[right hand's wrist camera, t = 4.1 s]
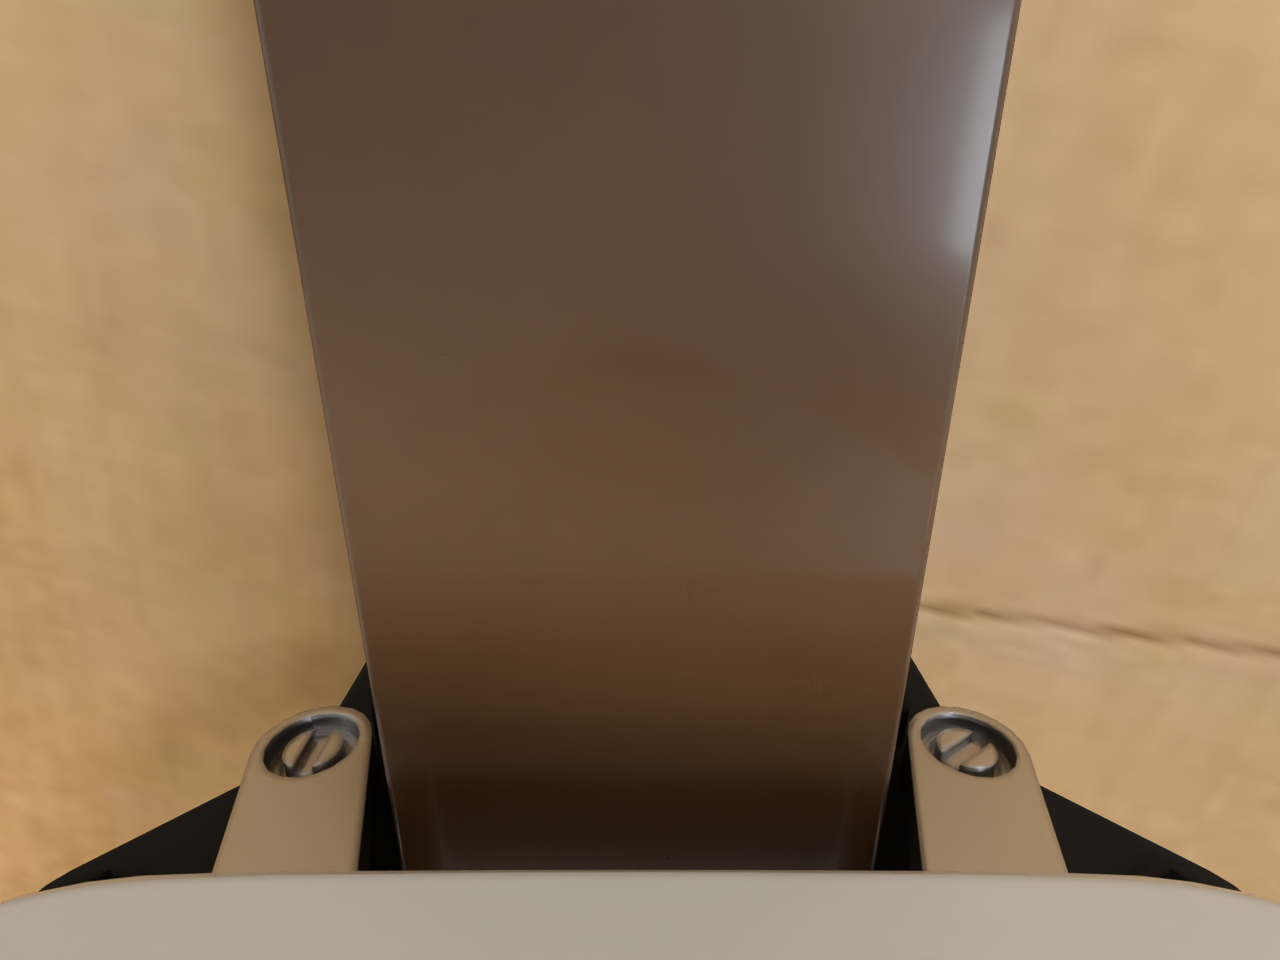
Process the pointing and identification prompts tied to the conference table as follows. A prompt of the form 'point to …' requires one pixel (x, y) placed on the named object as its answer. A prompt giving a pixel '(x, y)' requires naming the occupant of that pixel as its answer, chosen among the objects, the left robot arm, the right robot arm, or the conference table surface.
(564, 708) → the bar
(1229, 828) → the conference table surface
